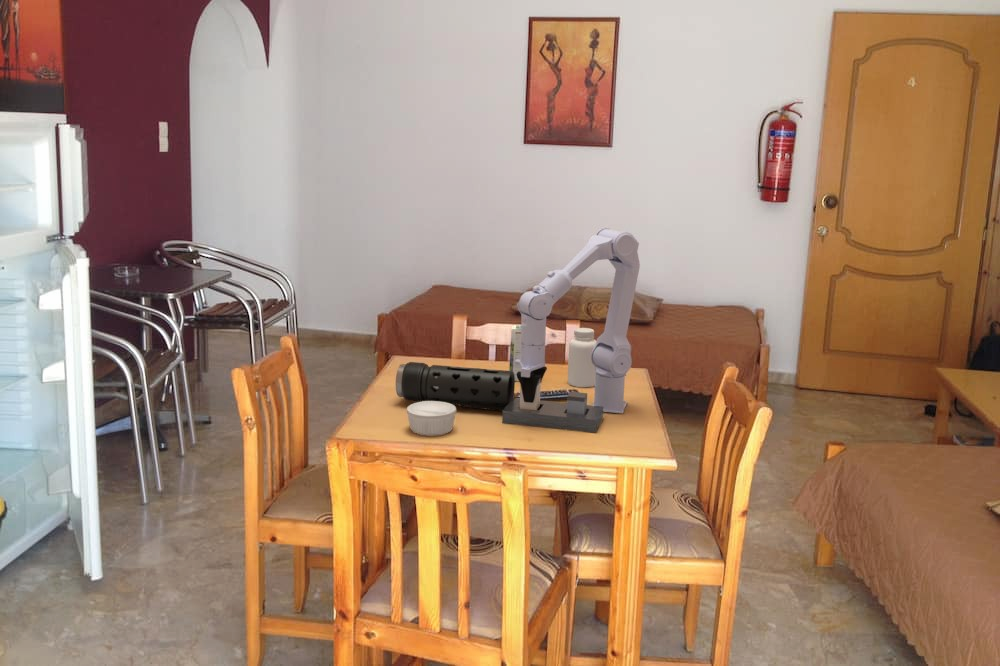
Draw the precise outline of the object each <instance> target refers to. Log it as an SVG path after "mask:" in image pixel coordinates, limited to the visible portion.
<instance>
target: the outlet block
mask: <svg viewBox="0 0 1000 666" xmlns="http://www.w3.org/2000/svg"><path fill="white" fill-rule="evenodd" d="M603 409H604V407H602V406H592V404H587V412H586V415H579V414H569V413H567V402H561V401H560V402H559V401H549V400H548V401H547V400H541V399H540V407H539V408H538V409H537V410H529V409H520V397H514V398H513V399H512V400H511V402H510V403H509V404H508V405H507V406H506V407H505V408H504V409H503V411H502V410H501V411H502V419H501V423H502V424H508V425H509V424H511V425H517V426H526V427H528V426H529V427H537V428H547V429H557V430H565V429H567V430H566V431H574V430H575V431H576V432H583V433H593V434H594V433H595V434H596V433H597V432H598V429H599V428H600V426H601V424H602V421H603V419H604V412H603ZM575 431H574V432H575Z"/></svg>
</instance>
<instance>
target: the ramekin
mask: <svg viewBox="0 0 1000 666" xmlns="http://www.w3.org/2000/svg"><path fill="white" fill-rule="evenodd" d="M406 414H407V417H408V422H409V427H410V430H411V431H412V432H413V433H414V434H416V433H417V434H416V435H419V434H420V436H424V435H425V437H426V436H427V437H438V435H439V436H443V434H444V435H446V433H447V434H448V432H449V433H450V432H451V431H452V429H453V428H454V422H455V418H456V417H455V416H456V414H457V407H456V406H455V404H450V403H446V402H440V401H416V402H414V403H411V404H410V405H408V406H407V408H406Z"/></svg>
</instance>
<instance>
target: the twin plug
mask: <svg viewBox="0 0 1000 666" xmlns="http://www.w3.org/2000/svg"><path fill="white" fill-rule="evenodd" d="M566 398H567V399H566V403H567V413H569V414H579V415H586V412H587V405H588V393H587V392H579V391H570V392H569V393H568V395H567V397H566Z"/></svg>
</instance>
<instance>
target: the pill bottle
mask: <svg viewBox="0 0 1000 666" xmlns="http://www.w3.org/2000/svg"><path fill="white" fill-rule="evenodd" d="M573 332H574V333H573V336H574V338H572V339H571V340H570V341H569V343H568V362H567V363H568V364H567V383H568V385H570V386H572V387H575V388H576V387H577V388H593V387H595V374H596V371H595V366H594V365H593V363H592V362H591V352H592V350H593V348H594V347H595V345H596V342H597V339H595V330H594V329H592V328H589V327H578V328H575V329H574V330H573Z"/></svg>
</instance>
